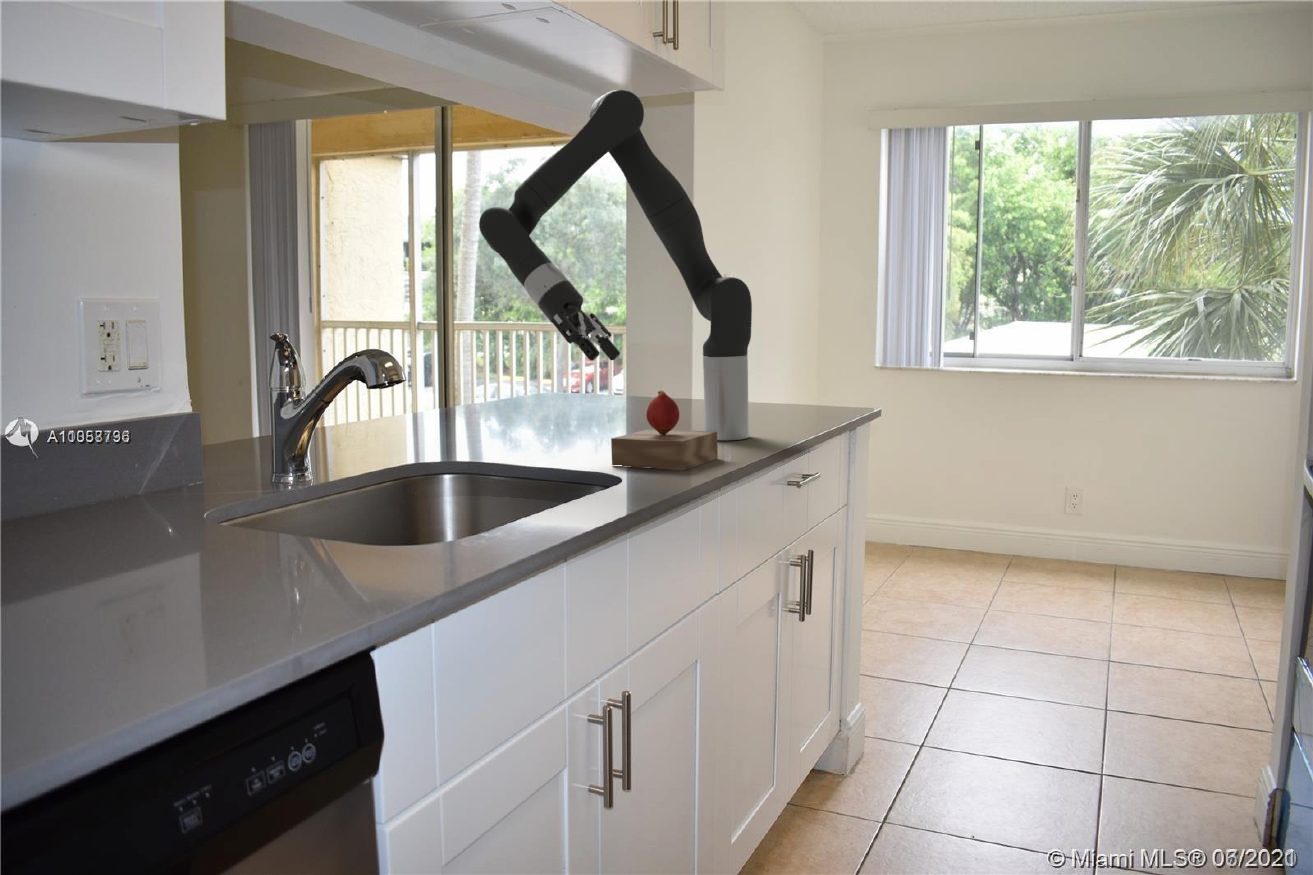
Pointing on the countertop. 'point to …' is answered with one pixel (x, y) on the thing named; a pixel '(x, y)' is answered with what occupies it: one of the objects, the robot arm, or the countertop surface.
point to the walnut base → (665, 449)
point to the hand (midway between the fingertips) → (606, 357)
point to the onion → (662, 413)
